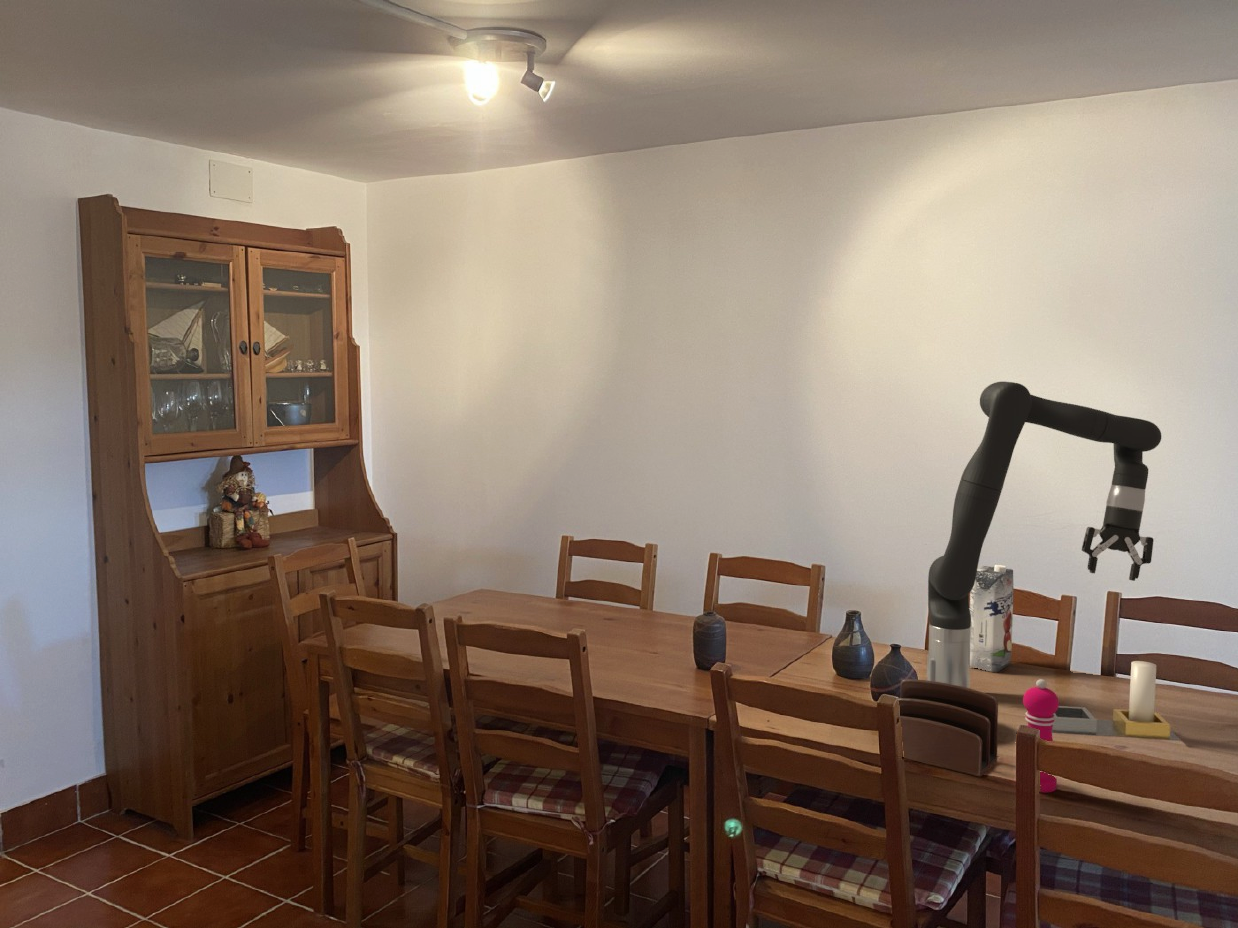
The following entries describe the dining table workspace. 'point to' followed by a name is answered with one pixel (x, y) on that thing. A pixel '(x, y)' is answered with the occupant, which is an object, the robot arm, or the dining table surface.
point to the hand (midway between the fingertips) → (1112, 576)
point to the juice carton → (991, 618)
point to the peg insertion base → (1109, 724)
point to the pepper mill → (1042, 721)
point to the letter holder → (948, 726)
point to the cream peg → (1142, 691)
